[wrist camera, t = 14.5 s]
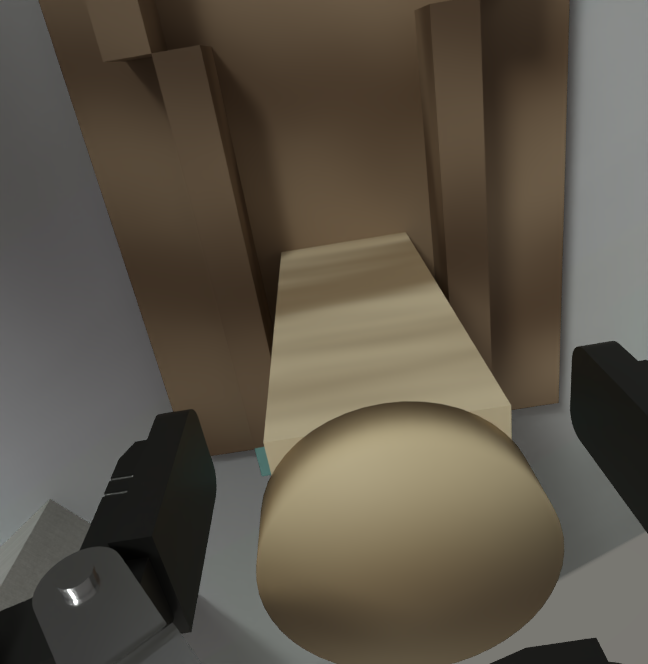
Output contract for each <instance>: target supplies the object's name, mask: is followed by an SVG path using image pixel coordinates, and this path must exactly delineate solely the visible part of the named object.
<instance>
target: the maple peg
mask: <svg viewBox="0 0 648 664" xmlns="http://www.w3.org/2000/svg"><path fill="white" fill-rule="evenodd" d="M263 443H264V447H265V451H266V455H267V459H268V463H269V467H270V471H271V475H272V476H271V478H270V480H269V481H268V484H267V487H266V490H265V493H264V496H263V502H262V508H261V518H260V530H259V541H258V553H257V565H256V574H257V585H258V590H259V595H260V597H261V600H262V603H263V605H264V608H265V609H266V611H267V613H268V614H269V616H270V618H271V619H272V621H273V622H274V623H275V624H276V625H277V627H278V628H279V629H280V630H281V631H282V632H283V633H284V634H285V635H286V636H287V637H288V638H290V639H291V640H292V641H293V642H295V643H296V644H298V645H299V646H300V647H302V648H303V649H305V650H307V651H309V652H311V653H313V654H314V655H316V656H318V657H320V658H323V659H326V660H328V661H331V662H334V663H337V664H452V663H456V662H459V661H462V660H465V659H468V658H470V657H473V656H476V655H478V654H480V653H482V652H484V651H486V650H489V649H491V648H492V647H494V646H496V645H497V644H499V643H501V642H503V641H504V640H506V639H508V638H509V637H510V636H512V635H513V634H514V633H516V632H517V631H518V630H520V629H521V628H522V627H523V626H524V625H525V624H526V623H528V622H529V621H530V620H531V619H532V618H533V617H534V616H535V615H536V613H537V612H538V611H539V610H540V609H541V608H542V607H543V605H544V604H545V602H546V601H547V599H548V598H549V596H550V595H551V593H552V591H553V589H554V587H555V585H556V583H557V581H558V578H559V575H560V572H561V569H562V565H563V557H564V537H563V533H562V528H561V524H560V521H559V519H558V517H557V514H556V512H555V510H554V508H553V506H552V504H551V503H550V501H549V499H548V497H547V496H546V494H545V492H544V490H543V488H542V487H541V485H540V483H539V481H538V480H537V478H536V476H535V474H534V472H533V471H532V469H531V467H530V465H529V464H528V462H527V460H526V458H525V457H524V455H523V454H522V452H521V451H520V449H519V448H518V446H517V445H516V444H515V443H514V442H513V441H512V434H511V404H510V403H509V401H508V399H507V398H506V396H505V394H504V393H503V391H502V389H501V388H500V386H499V384H498V383H497V381H496V380H495V378H494V376H493V375H492V373H491V371H490V370H489V368H488V366H487V365H486V363H485V362H484V360H483V358H482V357H481V355H480V353H479V352H478V350H477V348H476V347H475V345H474V343H473V342H472V340H471V339H470V337H469V335H468V334H467V332H466V330H465V329H464V327H463V325H462V324H461V322H460V320H459V319H458V317H457V316H456V314H455V312H454V311H453V309H452V307H451V306H450V304H449V302H448V301H447V299H446V298H445V296H444V294H443V293H442V291H441V289H440V288H439V286H438V284H437V283H436V281H435V279H434V278H433V276H432V275H431V273H430V271H429V270H428V268H427V266H426V265H425V263H424V261H423V260H422V258H421V257H420V255H419V253H418V252H417V250H416V248H415V247H414V245H413V243H412V242H411V240H410V238H409V237H408V235H407V234H406V232H403V233H397V234H391V235H384V236H378V237H372V238H366V239H360V240H354V241H347V242H341V243H335V244H329V245H323V246H316V247H310V248H304V249H298V250H292V251H286V252H281V262H280V272H279V283H278V293H277V304H276V314H275V325H274V336H273V346H272V357H271V367H270V378H269V388H268V399H267V410H266V420H265V431H264V441H263Z"/></svg>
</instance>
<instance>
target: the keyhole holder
mask: <svg viewBox="0 0 648 664" xmlns="http://www.w3.org/2000/svg"><path fill="white" fill-rule="evenodd" d="M569 1H570V0H39V4H40V7H41V10H42V13H43V16H44V19H45V22H46V25H47V28H48V31H49V34H50V37H51V40H52V43H53V46H54V49H55V52H56V55H57V58H58V61H59V65H60V68H61V71H62V74H63V77H64V80H65V83H66V86H67V89H68V92H69V95H70V98H71V101H72V104H73V107H74V110H75V113H76V116H77V119H78V123H79V126H80V129H81V132H82V135H83V138H84V141H85V144H86V147H87V150H88V153H89V156H90V159H91V162H92V165H93V168H94V171H95V174H96V177H97V180H98V184H99V187H100V190H101V193H102V196H103V199H104V202H105V205H106V208H107V211H108V214H109V217H110V220H111V223H112V226H113V229H114V232H115V235H116V238H117V242H118V245H119V248H120V251H121V254H122V257H123V260H124V263H125V266H126V269H127V272H128V275H129V278H130V281H131V284H132V287H133V290H134V293H135V296H136V300H137V303H138V306H139V309H140V312H141V315H142V318H143V321H144V324H145V327H146V330H147V333H148V336H149V339H150V342H151V345H152V348H153V351H154V354H155V357H156V361H157V364H158V367H159V370H160V373H161V376H162V379H163V382H164V385H165V388H166V391H167V394H168V397H169V400H170V403H171V406H172V409H173V412H176V411H182V410H188V409H193V410H195V412H196V413H197V416H198V418H199V421H200V424H201V428H202V431H203V434H204V437H205V440H206V443H207V446H208V449H209V453H210V456H214V455H220V454H227V453H233V452H240V451H246V450H253V449H255V452H256V456H257V459H258V463H259V467H260V471H261V475H262V476H267V475H271V471H270V467H269V463H268V459H267V455H266V451H265V447H264V443H263V441H264V431H265V420H266V410H267V399H268V388H269V378H270V367H271V357H272V346H273V336H274V325H275V314H276V304H277V293H278V283H279V272H280V262H281V252H286V251H292V250H298V249H304V248H310V247H316V246H323V245H329V244H335V243H341V242H347V241H354V240H360V239H366V238H372V237H378V236H384V235H391V234H397V233H403V232H406V234H407V235H408V237H409V238H410V240H411V242H412V243H413V245H414V247H415V248H416V250H417V252H418V253H419V255H420V257H421V258H422V260H423V261H424V263H425V265H426V266H427V268H428V270H429V271H430V273H431V275H432V276H433V278H434V279H435V281H436V283H437V284H438V286H439V288H440V289H441V291H442V293H443V294H444V296H445V298H446V299H447V301H448V302H449V304H450V306H451V307H452V309H453V311H454V312H455V314H456V316H457V317H458V319H459V320H460V322H461V324H462V325H463V327H464V329H465V330H466V332H467V334H468V335H469V337H470V339H471V340H472V342H473V343H474V345H475V347H476V348H477V350H478V352H479V353H480V355H481V357H482V358H483V360H484V362H485V363H486V365H487V366H488V368H489V370H490V371H491V373H492V375H493V376H494V378H495V380H496V381H497V383H498V384H499V386H500V388H501V389H502V391H503V393H504V394H505V396H506V398H507V399H508V401H509V403H510V404H511V410H515V409H521V408H528V407H534V406H541V405H547V404H554V403H558V402H559V365H560V329H561V293H562V256H563V220H564V183H565V147H566V110H567V74H568V38H569Z"/></svg>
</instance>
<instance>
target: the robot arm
mask: <svg viewBox="0 0 648 664" xmlns="http://www.w3.org/2000/svg"><path fill="white" fill-rule="evenodd" d="M570 414H571V420H572V424H573V427H574V430H575V432H576V435H577V436H578V438H579V440H580V441H581V442H582V444H583V445H584V447H585V448H586V449H587V451H588V452H589V453H590V455H591V456H592V458H593V459H594V460H595V462H596V463H597V464H598V466H599V467H600V469H601V470H602V471H603V473H604V474H605V475H606V477H607V478H608V480H609V481H610V482H611V484H612V485H613V486H614V488H615V489H616V491H617V492H618V493H619V495H620V496H621V497H622V499H623V500H624V501H625V503H626V504H627V506H628V507H629V508H630V510H631V511H632V512H633V514H634V515H635V517H636V518H637V519H638V521H639V522H640V523H641V525H642V526H643V528H644V529H645V530H646V532H647V533H648V361H647V360H643V361H637V360H636V359H635V358H634V357H633V356H632V355H631V354H630V353H629V352H628V351H626V350H625V349H624V348H623V347H622V346H621V345H620V344H619V343H617V342H615V341H609V342H603V343H597V344H591V345H585V346H579V347H576V348H575V349H574V351H573V355H572V372H571V400H570ZM104 494H105V497H102V500H101V502H100V504H99V506H98V509H97V511H96V513H95V516H94V518H93V520H92V523H91V525H90V527H89V530H88V532H87V534H86V536H85V539H84V541H83V543H82V546H81V548H80V550H79V551H77V552H75V553H73V554H71V555H69V556H67V557H65V558H64V559H62V560H61V561H59V562H58V563H57V564H56V565H54V566H53V567H52V568H51V569H50V570H49V571H48V572H47V573H46V574H45V575H44V576H43V578H42V579H41V580H40V582H39V583H38V585H37V587H36V589H35V591H34V594H33V597H32V598H30V599H28V600H26V601H23V602H21V603H18V604H16V605H14V606H11V607H9V608H6V609H4V610H1V611H0V664H202V663H201V662H200V660H199V659H198V658H197V656H196V655H195V653H194V652H193V650H192V649H191V648H190V646H189V645H188V643H187V642H186V640H185V639H184V637H183V636H182V635H181V633H188V632H191V631H192V625H193V619H194V614H195V608H196V603H197V597H198V592H199V586H200V581H201V575H202V570H203V564H204V559H205V553H206V547H207V542H208V536H209V531H210V525H211V520H212V514H213V509H214V503H215V498H216V475H215V469H214V465H213V462H212V459H211V456H210V453H209V449H208V446H207V443H206V440H205V437H204V434H203V431H202V428H201V424H200V421H199V418H198V416H197V413H196V412H195V410H193V409H188V410H182V411H176V412H170V413H164V414H158V415H157V416H156V418H155V420H154V423H153V425H152V428H151V431H150V433H149V436H148V439H147V440H143V441H137V442H135V443H134V444H133V445H132V446H131V447H130V448H129V449H128V450H127V451H126V452H125V453H124V455H123V456H122V457H121V458H120V459H119V460H118V463H117V465H116V467H115V470H114V472H113V474H112V477H111V481H109V483H108V486H107V488H106V490H105V493H104ZM491 664H620V663H615V662H608V660H607V658H606V656H605V654H604V652H603V650H602V648H601V647H600V644H599V642H598V640H597V639H596V638H591V639H584V640H577V641H570V642H563V643H556V644H550V645H542V646H536V647H529V648H524V649H522V650H520V651H518V652H516V653H514V654H511V655H509V656H506V657H505V658H502V659H500V660H497V661H495V662H493V663H491Z"/></svg>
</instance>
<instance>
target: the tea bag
mask: <svg viewBox="0 0 648 664" xmlns="http://www.w3.org/2000/svg"><path fill="white" fill-rule="evenodd" d="M90 525H91V524H89V523H88V522H86V521H85V520H83V519H81V518H80V517H78V516H77V515H75V514H73V513H72V512H70V511H68V510H67V509H65V508H64V507H62V506H60V505H59V504H57V503H56V502H54V501H52V500H51V499H50V500H49V501H48V502H47V503H45V504H44V505H43V506H42V507H41V508H40V509H39V510H38V511H37V512H36V513H35V514H34V515H33V516H32V517H31V518H30V519H29V520H28V521H27V522H26V523H25V524H24V525H23V526H22V527H21V528H20V529H19V530H18V531H17V532H15V533H14V534H13V535H12V536H11V537H10V538H9V539H8V540H7V541H6V542H5V543H4V544H3V545H2V546H1V547H0V611H1V610H4V609H6V608H9V607H11V606H14V605H16V604H18V603H21V602H23V601H26V600H28V599H30V598H32V597H33V594H34V591H35V589H36V587H37V585H38V583H39V582H40V580H41V579H42V578H43V576H44V575H45V574H46V573H47V572H48V571H49V570H50V569H51V568H52V567H53V566H54V565H56V564H57V563H58V562H59V561H61V560H62V559H64V558H65V557H67V556H69V555H71V554H73V553H75V552H77V551H79V550H80V548H81V546H82V543H83V541H84V539H85V536H86V534H87V532H88V530H89V527H90Z"/></svg>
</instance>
